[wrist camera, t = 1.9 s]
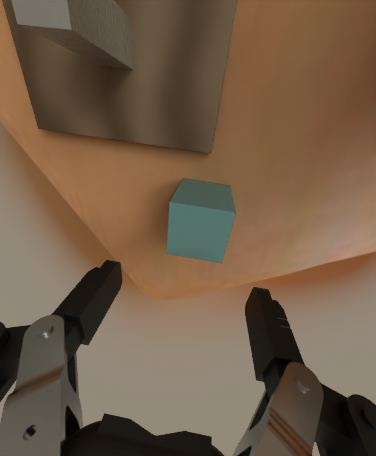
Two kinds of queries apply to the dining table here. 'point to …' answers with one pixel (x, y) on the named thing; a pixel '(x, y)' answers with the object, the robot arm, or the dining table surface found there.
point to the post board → (136, 76)
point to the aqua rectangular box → (200, 220)
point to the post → (81, 28)
